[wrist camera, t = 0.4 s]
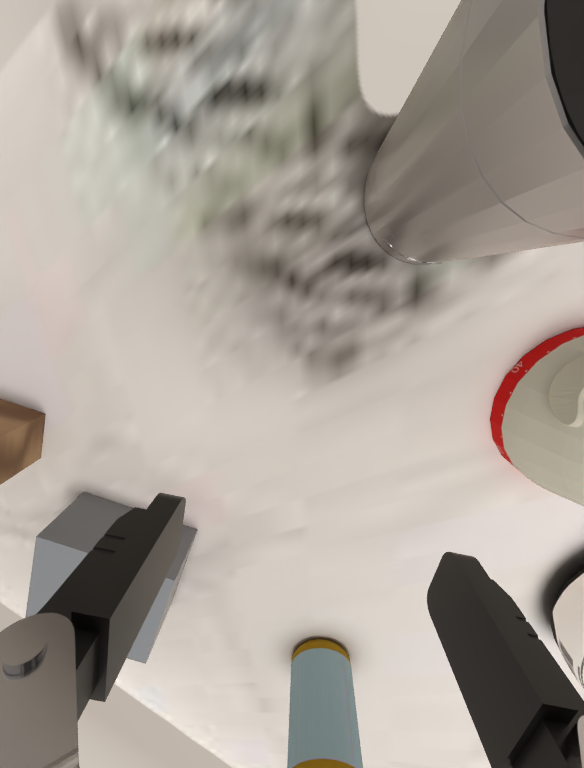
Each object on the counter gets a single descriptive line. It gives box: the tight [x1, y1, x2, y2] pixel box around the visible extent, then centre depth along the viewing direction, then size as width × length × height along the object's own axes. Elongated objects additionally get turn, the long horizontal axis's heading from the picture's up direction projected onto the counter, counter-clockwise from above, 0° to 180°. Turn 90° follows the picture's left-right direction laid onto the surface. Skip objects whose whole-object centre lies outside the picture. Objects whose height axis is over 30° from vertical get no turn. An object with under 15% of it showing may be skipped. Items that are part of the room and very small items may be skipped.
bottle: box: [287, 639, 363, 768], centre depth 30 cm, size 7×7×15 cm
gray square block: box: [25, 492, 197, 664], centre depth 30 cm, size 12×12×6 cm
